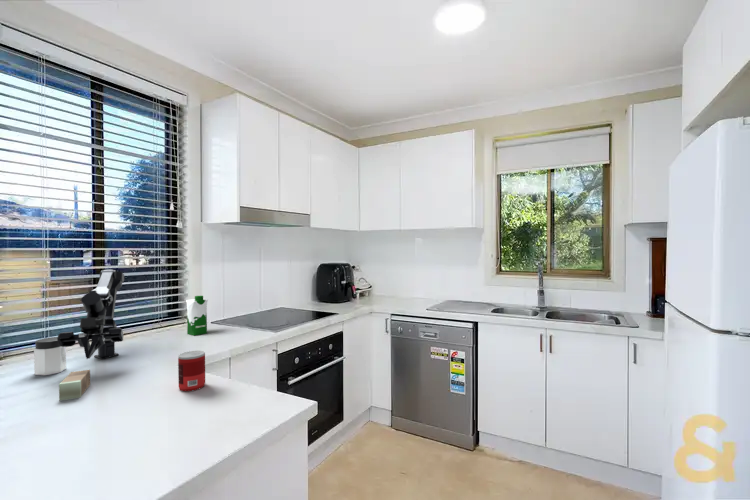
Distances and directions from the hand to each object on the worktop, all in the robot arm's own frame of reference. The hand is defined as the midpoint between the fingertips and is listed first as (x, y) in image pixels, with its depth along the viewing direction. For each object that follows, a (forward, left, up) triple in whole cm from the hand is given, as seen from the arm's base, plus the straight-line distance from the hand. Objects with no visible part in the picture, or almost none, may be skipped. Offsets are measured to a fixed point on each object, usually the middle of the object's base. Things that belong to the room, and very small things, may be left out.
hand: (87, 358), depth 131 cm
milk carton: (-25, +61, -7) cm, 66 cm away
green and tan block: (+6, -5, -4) cm, 9 cm away
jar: (-20, -3, -7) cm, 21 cm away
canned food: (+40, +12, -7) cm, 43 cm away
